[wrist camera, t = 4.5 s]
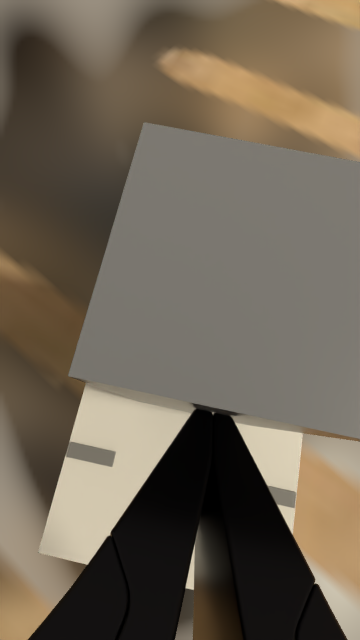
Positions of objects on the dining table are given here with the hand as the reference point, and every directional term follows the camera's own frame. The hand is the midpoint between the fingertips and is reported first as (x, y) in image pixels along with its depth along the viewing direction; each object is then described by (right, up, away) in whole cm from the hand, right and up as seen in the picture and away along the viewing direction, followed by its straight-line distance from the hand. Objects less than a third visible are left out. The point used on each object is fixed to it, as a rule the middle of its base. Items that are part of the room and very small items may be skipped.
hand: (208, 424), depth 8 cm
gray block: (0, +1, +8) cm, 8 cm away
